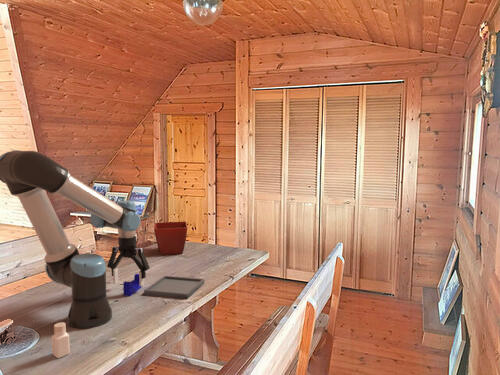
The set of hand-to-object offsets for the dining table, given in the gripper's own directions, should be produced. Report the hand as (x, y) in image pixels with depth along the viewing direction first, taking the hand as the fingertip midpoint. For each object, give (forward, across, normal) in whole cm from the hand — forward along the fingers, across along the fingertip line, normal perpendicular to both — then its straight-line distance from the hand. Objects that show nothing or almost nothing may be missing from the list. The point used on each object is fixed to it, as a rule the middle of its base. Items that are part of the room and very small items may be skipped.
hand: (128, 284), depth 175 cm
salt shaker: (+3, -9, +54) cm, 55 cm away
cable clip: (+3, -1, 0) cm, 4 cm away
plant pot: (+3, +10, -65) cm, 66 cm away
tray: (+3, -19, -7) cm, 20 cm away
